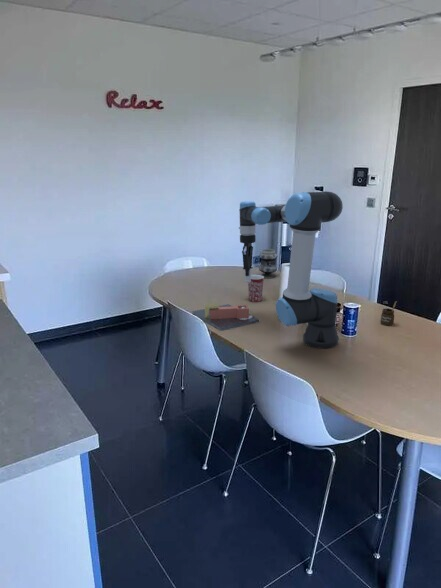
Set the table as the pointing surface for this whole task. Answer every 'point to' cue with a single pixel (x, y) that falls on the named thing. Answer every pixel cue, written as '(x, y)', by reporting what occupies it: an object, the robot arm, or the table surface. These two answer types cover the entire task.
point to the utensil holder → (388, 316)
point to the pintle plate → (225, 320)
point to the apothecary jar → (268, 263)
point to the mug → (255, 288)
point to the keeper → (209, 306)
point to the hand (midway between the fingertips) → (247, 281)
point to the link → (230, 312)
